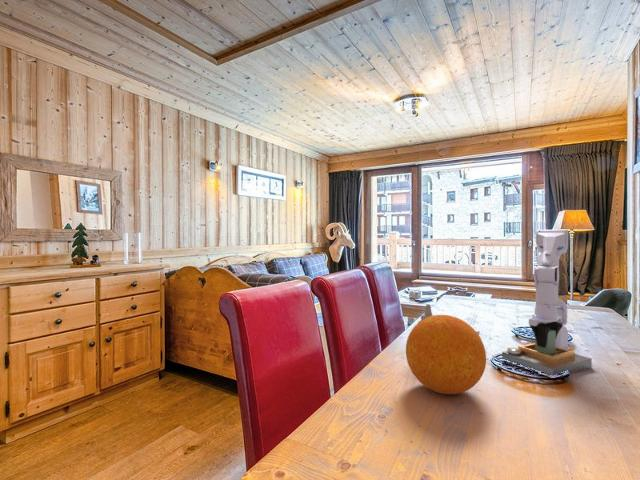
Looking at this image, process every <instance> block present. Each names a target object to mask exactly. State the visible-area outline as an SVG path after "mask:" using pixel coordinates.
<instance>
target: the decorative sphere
mask: <svg viewBox="0 0 640 480" xmlns="http://www.w3.org/2000/svg"><path fill="white" fill-rule="evenodd" d="M433 315H434V316H430V317H427V318H425V319H423V320H422V321H420V320H419V321H420V322H419V321H418V322H419V323H418V322H417V323H416V324H415V325H414V327H413V328H412V329H411V331H410V332H409V335H408V337H407V340H406V344H405V355H406V357H405V358H406V361H407V365H408V367H409V370H410V371H411V373H412V374H413V376H414V377H415V379H417V381H419V383H420V384H422V385H423V386H424V387H426V388H427V389H429V390H430V391H433V392H436V393H438V394H442V395H457V394H462V393H464V392H467V391H469V390H471V389H472V388H473V387H475V386H476V385H477V383H479V382H480V380H481V378H482V377H483V374H484V372H485V369H486V366H487V365H486V364H487V352H486V349H485V345H484V343H483V339H482V337H481V336H480V334H479V335H478V334H477V332H476V331H475V330H474V329H475V328H474V327H472V325H470V324H469V323H467V322H466V321H465V320H463V319H461V318H459V317H457V316H453V315H448V314H433Z"/></svg>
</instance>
